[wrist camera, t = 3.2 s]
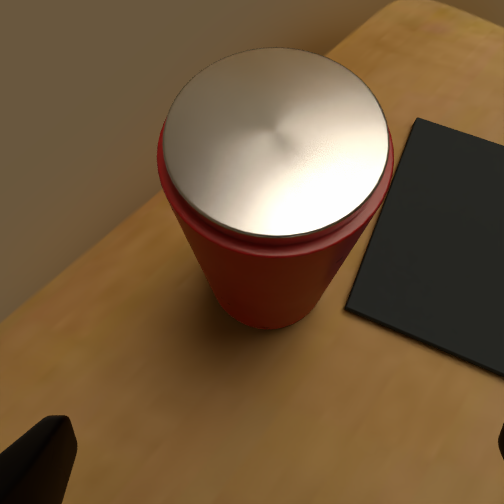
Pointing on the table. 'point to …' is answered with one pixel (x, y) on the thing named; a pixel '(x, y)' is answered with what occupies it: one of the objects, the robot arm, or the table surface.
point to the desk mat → (440, 247)
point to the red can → (274, 176)
